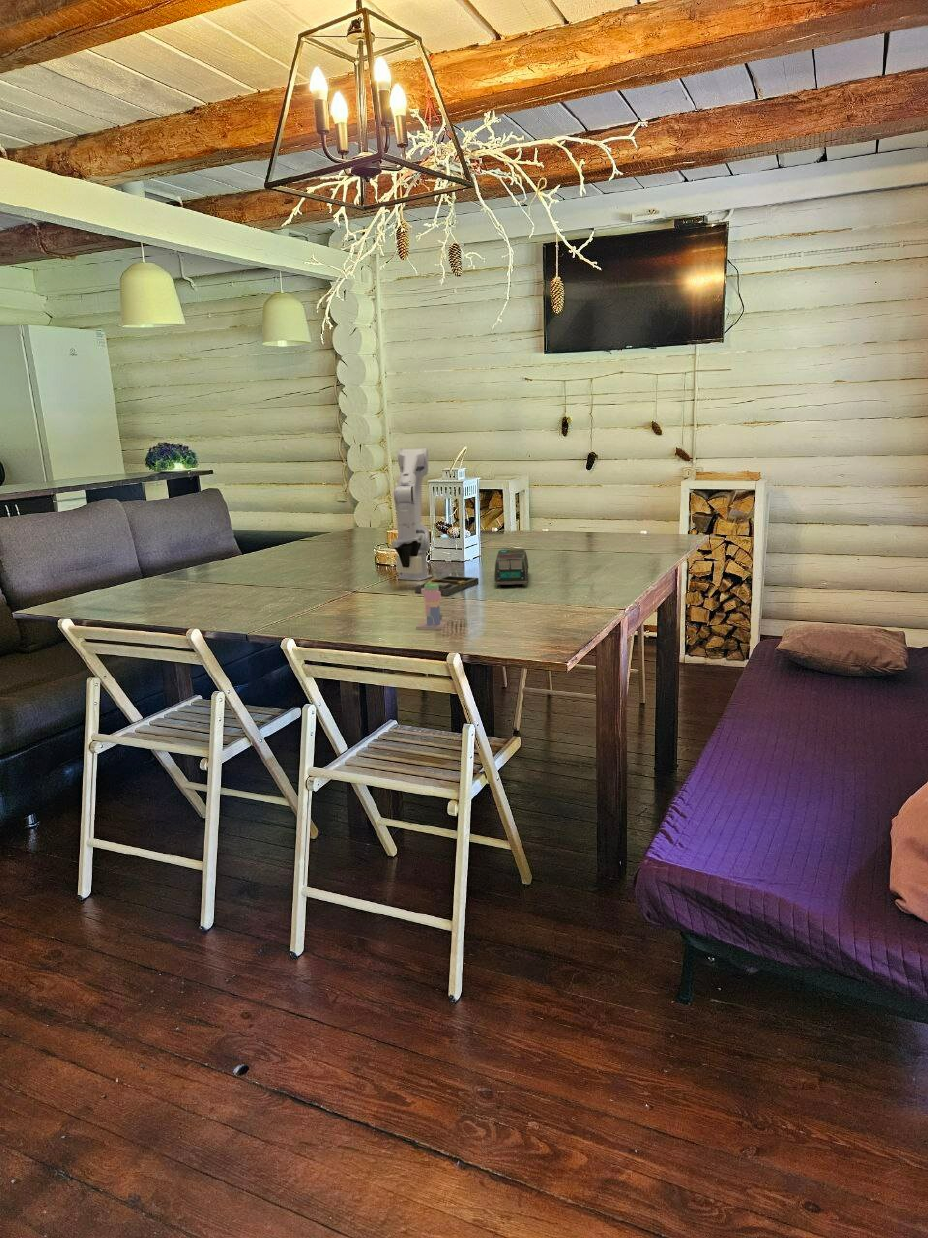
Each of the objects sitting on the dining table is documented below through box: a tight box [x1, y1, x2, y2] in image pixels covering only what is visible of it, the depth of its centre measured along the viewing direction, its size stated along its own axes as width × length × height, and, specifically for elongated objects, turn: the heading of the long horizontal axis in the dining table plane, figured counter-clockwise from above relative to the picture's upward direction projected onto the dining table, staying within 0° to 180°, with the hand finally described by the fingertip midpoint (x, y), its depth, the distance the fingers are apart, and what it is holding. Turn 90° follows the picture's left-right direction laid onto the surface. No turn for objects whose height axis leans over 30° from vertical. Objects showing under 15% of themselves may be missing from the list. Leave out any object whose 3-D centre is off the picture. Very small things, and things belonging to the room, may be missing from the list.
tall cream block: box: [395, 555, 422, 574], centre depth 271 cm, size 8×3×5 cm, turn 59°
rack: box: [414, 575, 480, 597], centre depth 269 cm, size 12×19×3 cm, turn 149°
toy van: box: [494, 548, 530, 588], centre depth 276 cm, size 11×25×10 cm, turn 175°
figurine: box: [415, 580, 448, 631], centre depth 222 cm, size 7×6×12 cm
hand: (409, 566), depth 271 cm, fingers closed on tall cream block, 3 cm apart
